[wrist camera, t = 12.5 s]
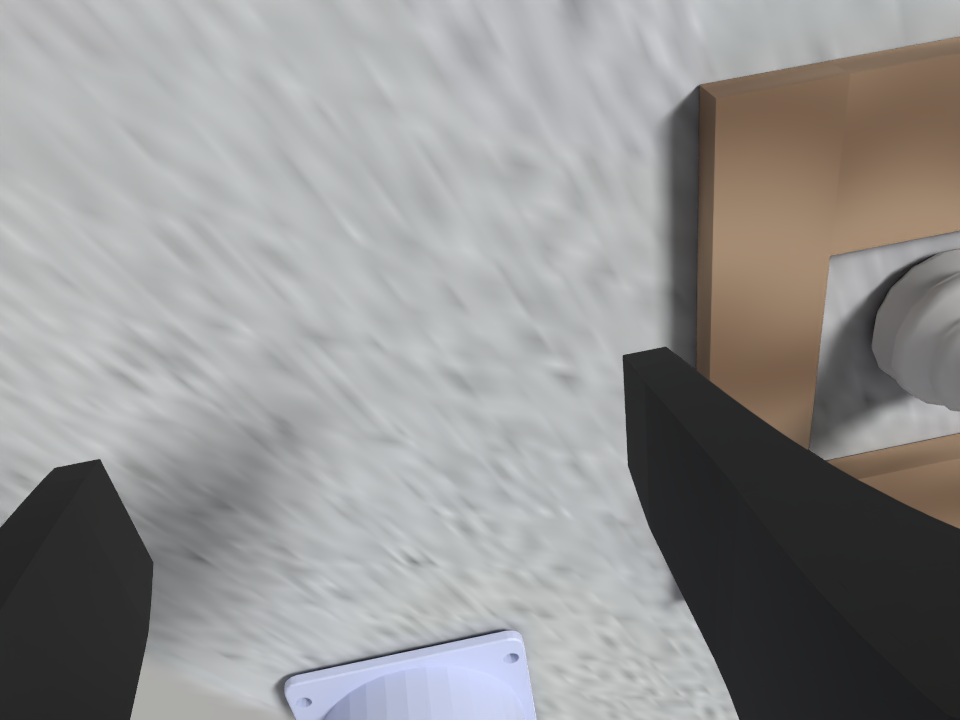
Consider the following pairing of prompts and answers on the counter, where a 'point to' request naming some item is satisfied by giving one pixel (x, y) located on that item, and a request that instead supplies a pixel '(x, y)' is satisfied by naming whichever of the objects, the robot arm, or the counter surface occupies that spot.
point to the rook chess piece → (923, 331)
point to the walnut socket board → (821, 229)
